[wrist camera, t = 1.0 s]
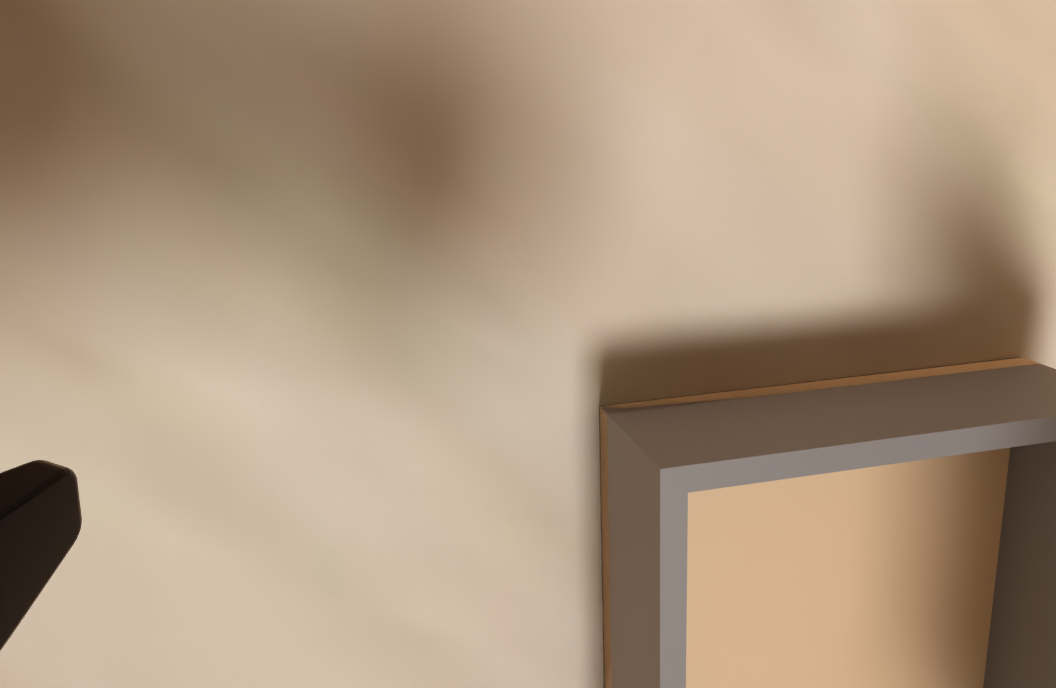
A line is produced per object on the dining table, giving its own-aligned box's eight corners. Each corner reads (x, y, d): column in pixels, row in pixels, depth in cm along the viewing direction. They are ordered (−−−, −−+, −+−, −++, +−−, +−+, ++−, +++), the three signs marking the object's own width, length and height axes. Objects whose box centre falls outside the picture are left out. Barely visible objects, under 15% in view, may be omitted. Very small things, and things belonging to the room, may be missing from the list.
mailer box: (608, 871, 25) (659, 1004, 21) (599, 406, 21) (660, 468, 18) (973, 786, 28) (1076, 892, 24) (1022, 357, 24) (1153, 403, 20)
